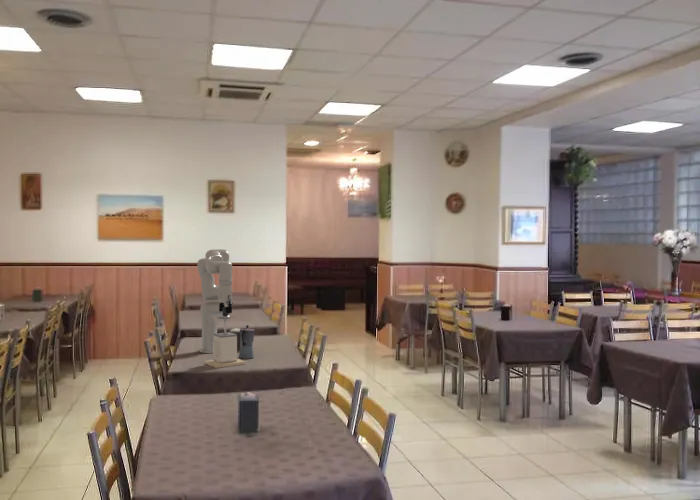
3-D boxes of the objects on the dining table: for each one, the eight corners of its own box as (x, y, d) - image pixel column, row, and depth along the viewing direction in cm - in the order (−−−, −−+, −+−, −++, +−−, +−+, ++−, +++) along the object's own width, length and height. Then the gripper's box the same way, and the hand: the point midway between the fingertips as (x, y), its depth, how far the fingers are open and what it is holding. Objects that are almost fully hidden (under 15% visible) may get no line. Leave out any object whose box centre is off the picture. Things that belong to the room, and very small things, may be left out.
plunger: (216, 346, 385) (216, 306, 384) (228, 345, 390) (228, 306, 389) (222, 348, 379) (222, 308, 378) (234, 347, 383) (234, 307, 383)
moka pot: (257, 355, 409) (257, 323, 408) (251, 360, 394) (251, 327, 393) (242, 355, 410) (242, 323, 409) (235, 360, 394) (235, 327, 394)
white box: (204, 363, 385) (204, 333, 384) (234, 359, 396) (234, 330, 396) (215, 368, 373) (215, 337, 372) (245, 364, 384) (245, 334, 384)
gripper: (213, 282, 388) (213, 311, 388) (226, 284, 374) (226, 314, 374) (224, 281, 392) (224, 310, 393) (238, 283, 378) (237, 313, 379)
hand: (225, 312), depth 383 cm, fingers open, 9 cm apart
